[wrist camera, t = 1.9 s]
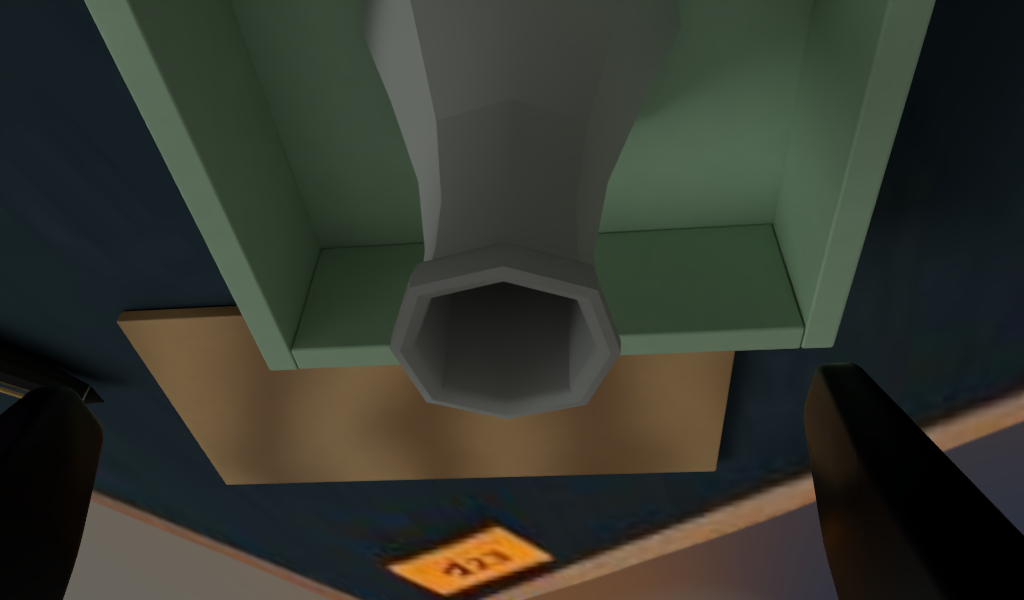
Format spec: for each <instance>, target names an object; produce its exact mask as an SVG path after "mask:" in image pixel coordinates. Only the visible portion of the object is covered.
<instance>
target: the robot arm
mask: <svg viewBox="0 0 1024 600" xmlns="http://www.w3.org/2000/svg"><path fill="white" fill-rule="evenodd" d="M804 426H805V432H806V439H807V445H808V451H809V457H810V464H811V470H812V476H813V482H814V489H815V495H816V501H817V507H818V514H819V520H820V526H821V532H822V537H823V543H824V547H825V551H826V555H827V560H828V563H829V567H830V571H831V574H832V578H833V581H834V585H835V588H836V592H837V595H838V599H839V600H1024V535H1023V534H1022V533H1021V532H1020V531H1019V530H1018V529H1017V528H1016V527H1015V526H1014V525H1013V524H1012V523H1011V522H1010V521H1009V520H1008V519H1007V518H1006V517H1005V516H1004V515H1003V513H1001V511H1000V510H999V509H998V508H997V507H996V506H995V505H994V504H993V503H992V502H991V501H990V500H989V499H988V498H987V497H986V496H985V495H984V494H983V493H982V492H981V491H980V490H979V489H978V488H977V487H976V486H975V485H974V484H973V483H972V482H971V480H970V479H969V478H968V477H967V476H966V475H965V474H964V473H963V472H962V471H961V470H960V469H959V468H958V467H957V466H956V465H955V464H954V463H953V462H952V461H951V460H950V459H949V458H948V457H947V456H946V455H945V454H944V453H943V452H942V451H941V449H940V448H939V447H938V446H937V445H936V444H935V443H934V442H933V441H932V440H931V439H930V438H929V437H928V436H927V435H926V434H925V433H924V432H923V431H922V430H921V429H920V428H919V427H918V426H917V425H916V424H915V423H914V422H913V421H912V420H911V419H910V417H909V416H908V415H907V414H906V413H905V412H904V411H903V410H902V409H901V408H900V407H899V406H898V405H897V404H896V403H895V402H894V401H893V400H892V399H891V398H890V397H889V396H888V395H887V394H886V393H885V392H884V391H883V390H882V389H881V388H880V387H879V385H878V384H877V383H876V382H875V381H874V380H873V379H872V378H871V377H870V376H869V375H868V374H867V373H866V372H865V371H864V370H863V369H862V368H861V367H859V366H858V365H856V364H854V363H824V364H821V365H819V366H818V367H817V369H816V371H815V373H814V376H813V380H812V383H811V386H810V390H809V393H808V396H807V400H806V403H805V407H804ZM102 445H103V429H102V426H101V424H100V422H99V420H98V419H97V418H96V417H95V415H94V414H93V413H92V412H91V410H90V409H89V408H88V407H87V405H86V404H85V403H84V402H83V400H82V399H81V398H80V397H79V395H78V394H77V393H76V392H75V391H74V390H73V389H71V388H69V387H65V386H57V387H39V388H35V389H33V390H31V391H29V392H28V393H27V394H25V395H24V396H23V397H22V398H20V399H19V400H18V401H17V402H16V403H14V404H13V405H12V406H11V407H9V408H8V409H7V410H6V411H5V412H3V413H2V414H1V415H0V600H63V597H64V595H65V592H66V589H67V586H68V583H69V580H70V577H71V574H72V571H73V568H74V564H75V561H76V558H77V554H78V551H79V547H80V543H81V539H82V535H83V531H84V526H85V522H86V517H87V513H88V508H89V503H90V499H91V495H92V490H93V486H94V481H95V477H96V472H97V468H98V463H99V459H100V454H101V450H102Z"/></svg>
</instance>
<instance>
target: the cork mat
mask: <svg viewBox="0 0 1024 600" xmlns="http://www.w3.org/2000/svg"><path fill="white" fill-rule="evenodd" d="M117 323H118V325H119V326H120V327H121V329H122V330H123V332H124V333H125V335H126V336H127V338H128V339H129V341H130V342H131V344H132V345H133V347H134V348H135V350H136V351H137V353H138V354H139V356H140V357H141V359H142V360H143V362H144V363H145V365H146V366H147V367H148V369H149V370H150V372H151V373H152V375H153V376H154V378H155V379H156V381H157V382H158V384H159V385H160V387H161V388H162V390H163V391H164V393H165V394H166V396H167V397H168V399H169V400H170V402H171V403H172V404H173V406H174V407H175V409H176V410H177V412H178V413H179V415H180V416H181V418H182V419H183V421H184V422H185V424H186V425H187V427H188V428H189V430H190V431H191V433H192V434H193V436H194V437H195V439H196V440H197V441H198V443H199V444H200V446H201V447H202V449H203V450H204V452H205V453H206V455H207V456H208V458H209V459H210V461H211V462H212V464H213V465H214V467H215V468H216V470H217V471H218V473H219V474H220V476H221V477H222V479H223V480H224V481H225V483H226V484H227V485H233V484H268V483H304V482H340V481H376V480H412V479H448V478H484V477H520V476H556V475H592V474H628V473H664V472H700V471H716V467H717V460H718V454H719V448H720V442H721V436H722V430H723V423H724V417H725V411H726V405H727V399H728V392H729V386H730V380H731V374H732V368H733V361H734V355H735V351H718V352H694V353H670V354H646V355H622V356H618V358H617V359H616V361H615V362H614V364H613V365H612V367H611V368H610V370H609V371H608V373H607V375H606V376H605V378H604V379H603V381H602V382H601V384H600V385H599V387H598V388H597V390H596V391H595V393H594V394H593V396H592V398H591V399H590V401H589V402H588V404H587V405H582V406H577V407H571V408H566V409H560V410H555V411H549V412H544V413H538V414H533V415H527V416H522V417H516V418H511V419H503V418H499V417H494V416H489V415H484V414H480V413H475V412H470V411H466V410H461V409H456V408H452V407H447V406H442V405H438V404H433V403H428V402H426V401H425V400H424V398H423V397H422V395H421V394H420V392H419V391H418V389H417V388H416V386H415V385H414V384H413V382H412V381H411V379H410V378H409V376H408V375H407V373H406V372H405V370H404V369H403V368H402V366H401V365H381V366H357V367H333V368H308V369H301V368H299V367H298V369H296V370H273V371H271V370H270V369H269V367H268V365H267V363H266V361H265V359H264V358H263V356H262V354H261V352H260V350H259V348H258V346H257V344H256V342H255V340H254V338H253V336H252V334H251V332H250V330H249V328H248V326H247V324H246V322H245V320H244V318H243V316H242V314H241V312H240V310H239V308H238V306H225V307H205V308H184V309H164V310H144V311H124V312H122V313H121V315H120V317H119V319H118V320H117Z"/></svg>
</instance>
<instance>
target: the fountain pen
mask: <svg viewBox="0 0 1024 600" xmlns="http://www.w3.org/2000/svg"><path fill="white" fill-rule="evenodd" d="M0 383H2V384H5V385H8V386H11V387H15V388H18V389H21V390H25V391H28V392H29V391H31V390H33V389H35V388H39V387H57V386H65V387H69V388H71V389H73V390H74V391H75V392H76V393H77V394H78V395H79V397H80V398H81V399H82V400H83V402H84V403H85V404H91V403H100V402H104V401H103V400H102V399H101V397H100V396H99V395H98V394H97V393H96V392H95V390H94V389H93V388H92V387H91V386H90V385H88V384H86V383H84V382H83V381H81V380H79V379H77V378H75V377H73V376H71V375H70V374H68V373H66V372H64V371H62V370H60V369H58V368H56V367H53V366H51V365H49V364H46V363H44V362H42V361H40V360H37V359H35V358H33V357H30V356H28V355H26V354H23V353H21V352H19V351H17V350H14V349H12V348H9V347H6V346H4V345H1V344H0ZM0 392H2V393H6V394H9V395H12V396H15V397H18V398H22V397H23V396H24V395H25V394H22V393H19V392H15V391H12V390H9V389H6V388H3V387H0Z"/></svg>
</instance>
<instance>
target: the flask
mask: <svg viewBox="0 0 1024 600" xmlns="http://www.w3.org/2000/svg"><path fill="white" fill-rule="evenodd" d="M360 25H361V28H362V31H363V34H364V37H365V40H366V42H367V45H368V48H369V50H370V53H371V55H372V57H373V60H374V62H375V65H376V67H377V69H378V72H379V74H380V77H381V79H382V81H383V84H384V86H385V89H386V91H387V93H388V96H389V98H390V101H391V103H392V106H393V109H394V112H395V115H396V118H397V121H398V124H399V127H400V130H401V132H402V135H403V138H404V141H405V144H406V147H407V150H408V153H409V156H410V159H411V162H412V165H413V168H414V170H415V173H416V176H417V179H418V183H419V194H420V204H421V214H422V224H423V235H424V245H425V255H424V262H421V263H419V264H417V265H416V266H415V268H414V270H413V272H412V274H411V276H410V279H409V282H408V285H407V288H406V292H405V295H404V298H403V301H402V304H401V307H400V311H399V314H398V317H397V320H396V323H395V326H394V330H393V333H392V336H391V343H390V350H391V352H392V353H393V354H394V356H395V357H396V359H397V360H398V362H399V363H400V365H401V366H402V368H403V369H404V370H405V372H406V373H407V375H408V376H409V378H410V379H411V381H412V382H413V384H414V385H415V386H416V388H417V389H418V391H419V392H420V394H421V395H422V397H423V398H424V400H425V401H426V402H428V403H433V404H438V405H442V406H447V407H452V408H456V409H461V410H466V411H470V412H475V413H480V414H484V415H489V416H494V417H499V418H503V419H511V418H516V417H522V416H527V415H533V414H538V413H544V412H549V411H555V410H560V409H566V408H571V407H577V406H582V405H587V404H588V402H589V401H590V399H591V398H592V396H593V394H594V393H595V391H596V390H597V388H598V387H599V385H600V384H601V382H602V381H603V379H604V378H605V376H606V375H607V373H608V371H609V370H610V368H611V367H612V365H613V364H614V362H615V361H616V359H617V358H618V356H619V355H620V353H621V340H620V337H619V334H618V332H617V329H616V326H615V323H614V321H613V318H612V315H611V312H610V310H609V307H608V304H607V302H606V299H605V296H604V293H603V291H602V288H601V285H600V283H599V280H598V277H597V275H596V272H595V256H594V252H595V247H596V241H597V236H598V231H599V226H600V220H601V215H602V210H603V205H604V199H605V194H606V189H607V184H608V181H609V179H610V177H611V174H612V172H613V170H614V168H615V165H616V163H617V161H618V158H619V156H620V154H621V152H622V149H623V147H624V145H625V143H626V140H627V138H628V136H629V133H630V131H631V129H632V127H633V124H634V122H635V120H636V117H637V115H638V113H639V111H640V109H641V107H642V105H643V103H644V101H645V99H646V97H647V95H648V93H649V91H650V89H651V87H652V85H653V83H654V81H655V79H656V77H657V75H658V73H659V71H660V69H661V67H662V65H663V63H664V61H665V59H666V57H667V55H668V53H669V51H670V49H671V47H672V45H673V43H674V41H675V39H676V36H677V34H678V32H679V30H680V27H681V21H680V16H679V11H678V6H677V1H676V0H365V3H364V8H363V13H362V18H361V24H360Z"/></svg>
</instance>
